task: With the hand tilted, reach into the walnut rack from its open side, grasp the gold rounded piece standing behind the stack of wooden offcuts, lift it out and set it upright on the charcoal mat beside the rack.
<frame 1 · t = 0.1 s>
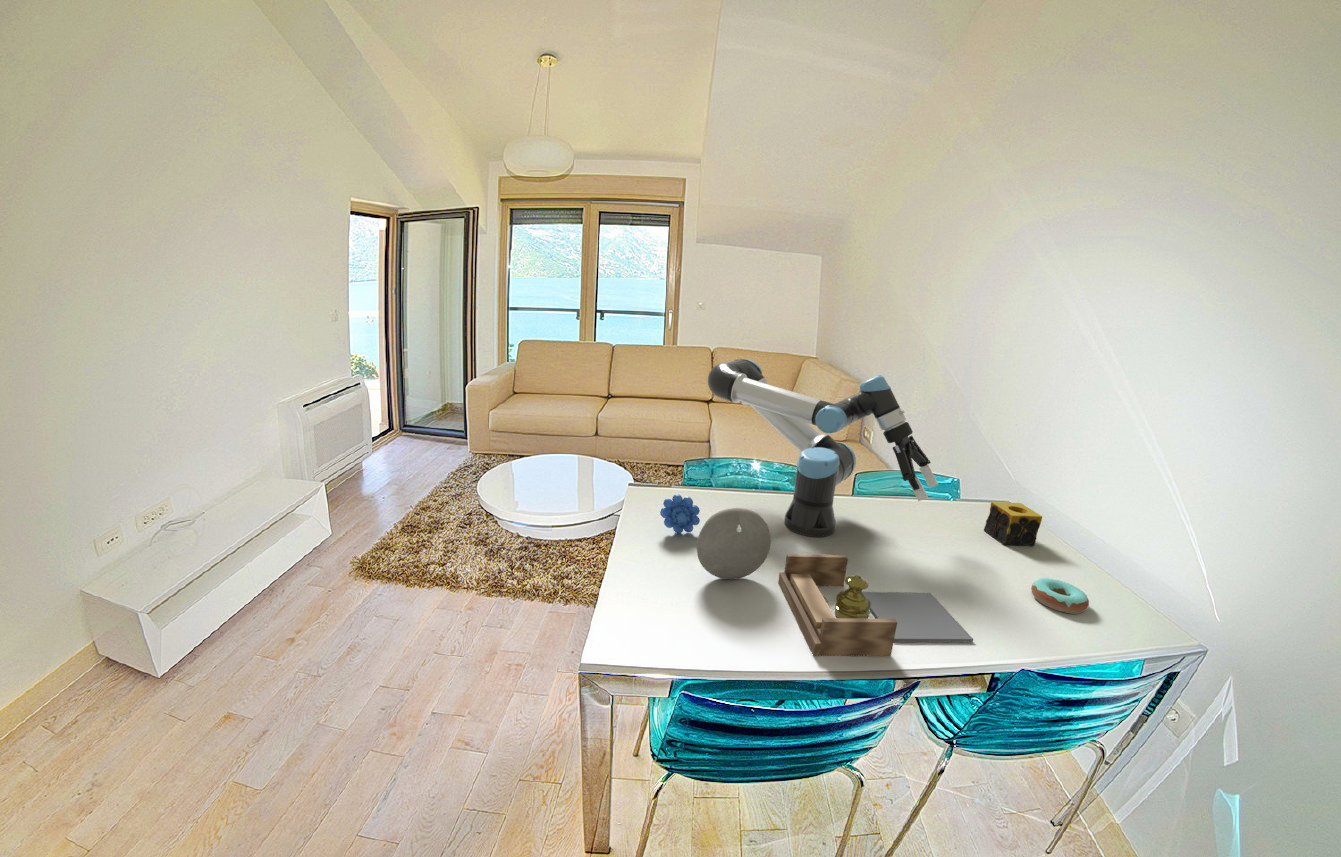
hand: (928, 492, 166), 15 cm above the table, tool tilted 35°, fingers open, 13 cm apart
charcoal mat: (912, 616, 131), on the table
yellow brown cube: (1008, 539, 176), on the table
blue flower: (679, 535, 164), on the table
gold rounded piece: (850, 617, 130), on the table
donut: (1057, 603, 142), on the table
planter: (730, 579, 143), on the table
offcut rack: (850, 616, 130), on the table
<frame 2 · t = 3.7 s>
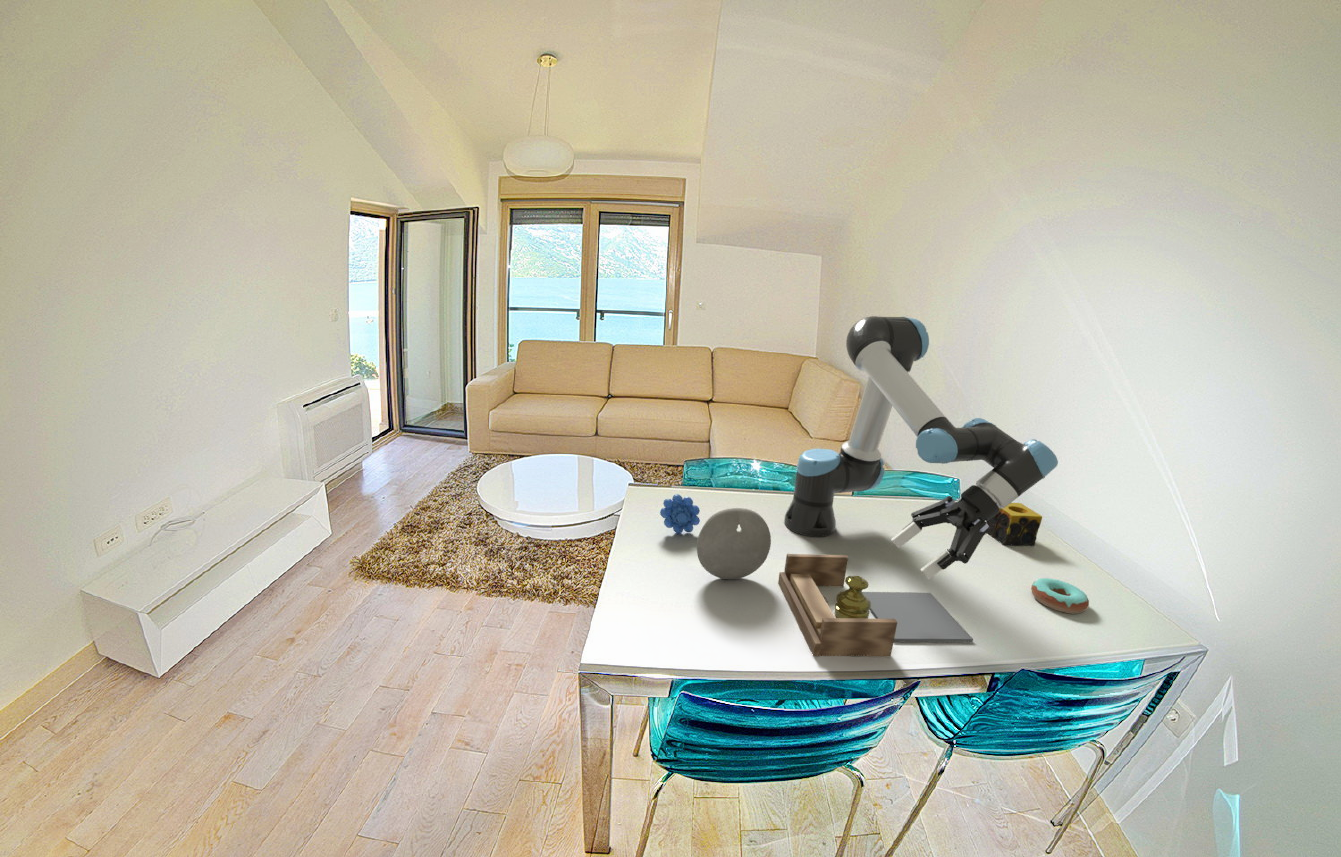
hand: (908, 558, 127), 15 cm above the table, tool tilted 45°, fingers open, 13 cm apart
nothing on the table moved.
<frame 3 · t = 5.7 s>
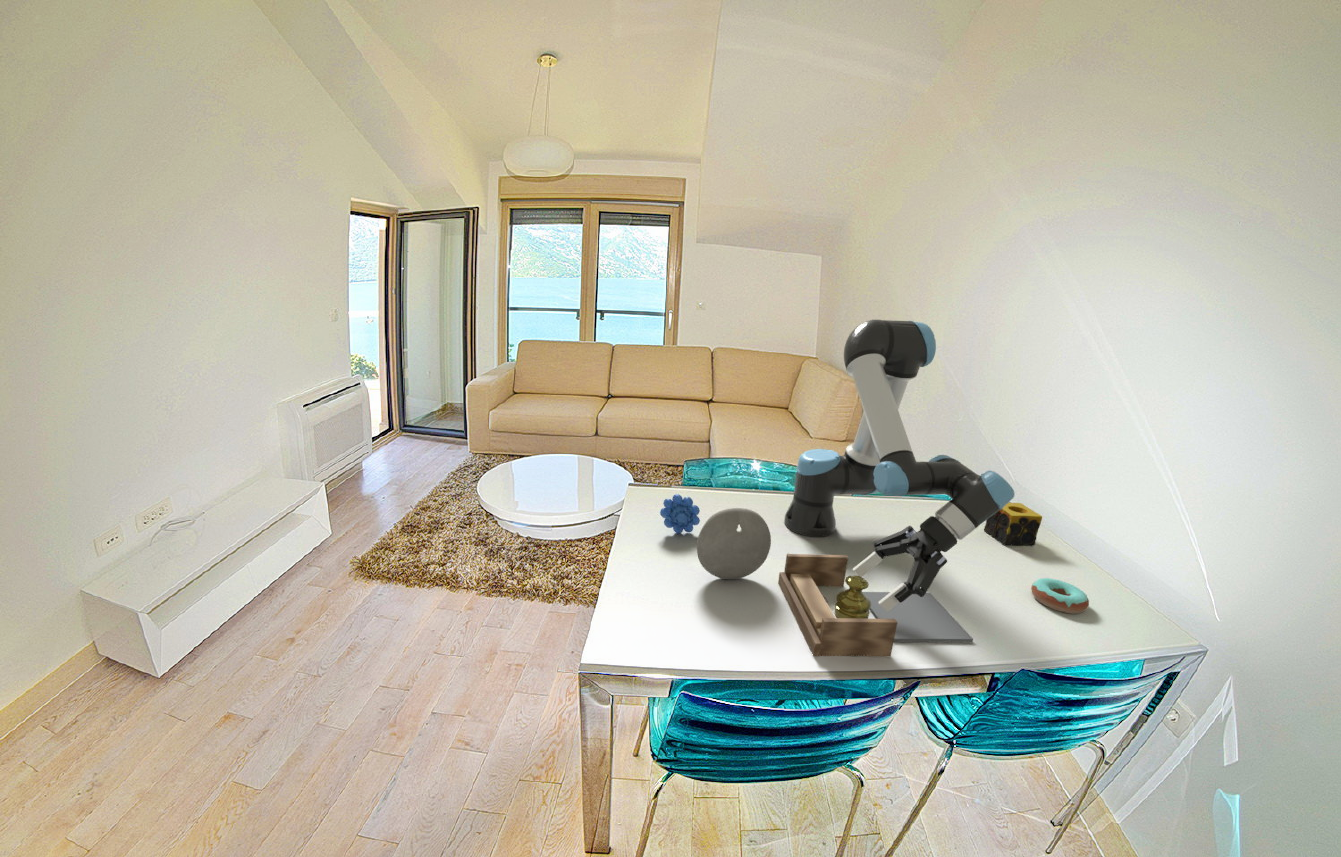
hand: (868, 589, 127), 8 cm above the table, tool tilted 45°, fingers open, 13 cm apart
nothing on the table moved.
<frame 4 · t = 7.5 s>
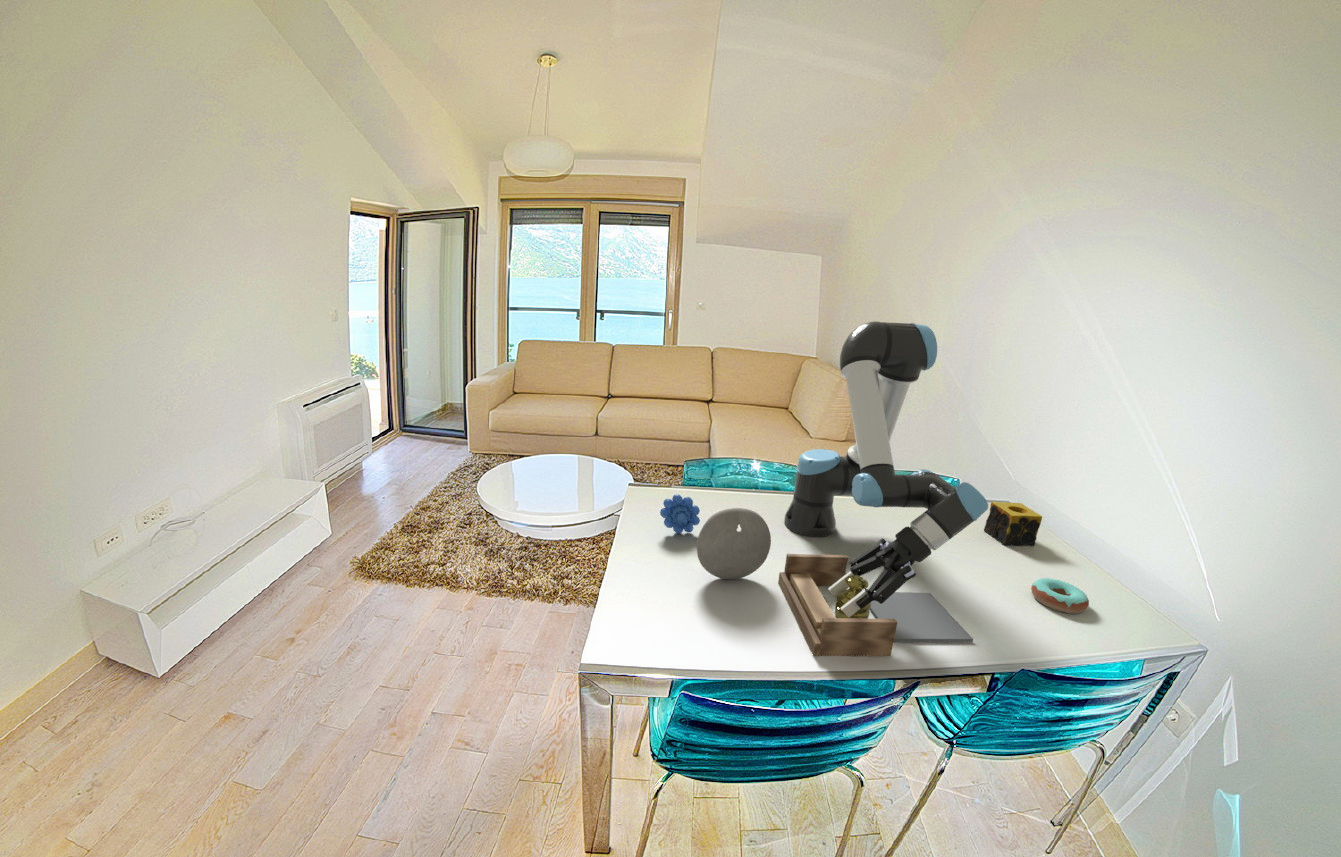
hand: (838, 602, 129), 4 cm above the table, tool tilted 45°, fingers closed on gold rounded piece, 7 cm apart
gold rounded piece: (850, 617, 130), on the table, touching gripper
everything else where it was.
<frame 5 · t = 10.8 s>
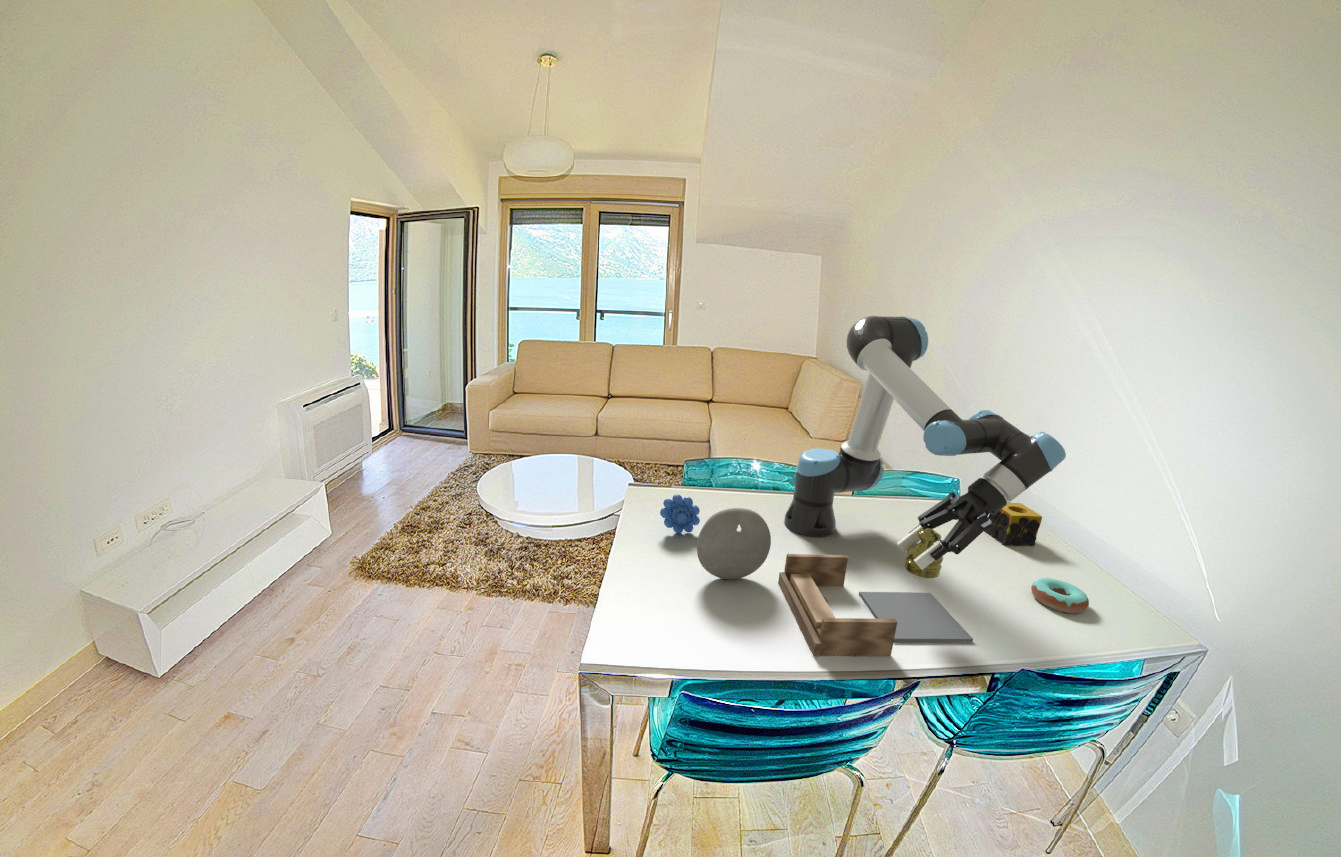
hand: (909, 556, 127), 15 cm above the table, tool tilted 45°, fingers closed on gold rounded piece, 7 cm apart
gold rounded piece: (921, 571, 128), point 12 cm above the table, touching gripper
everything else where it was.
when the fingers open (5 cm above the table, at t = 14.0 s): gold rounded piece stays where it is, resting on charcoal mat.
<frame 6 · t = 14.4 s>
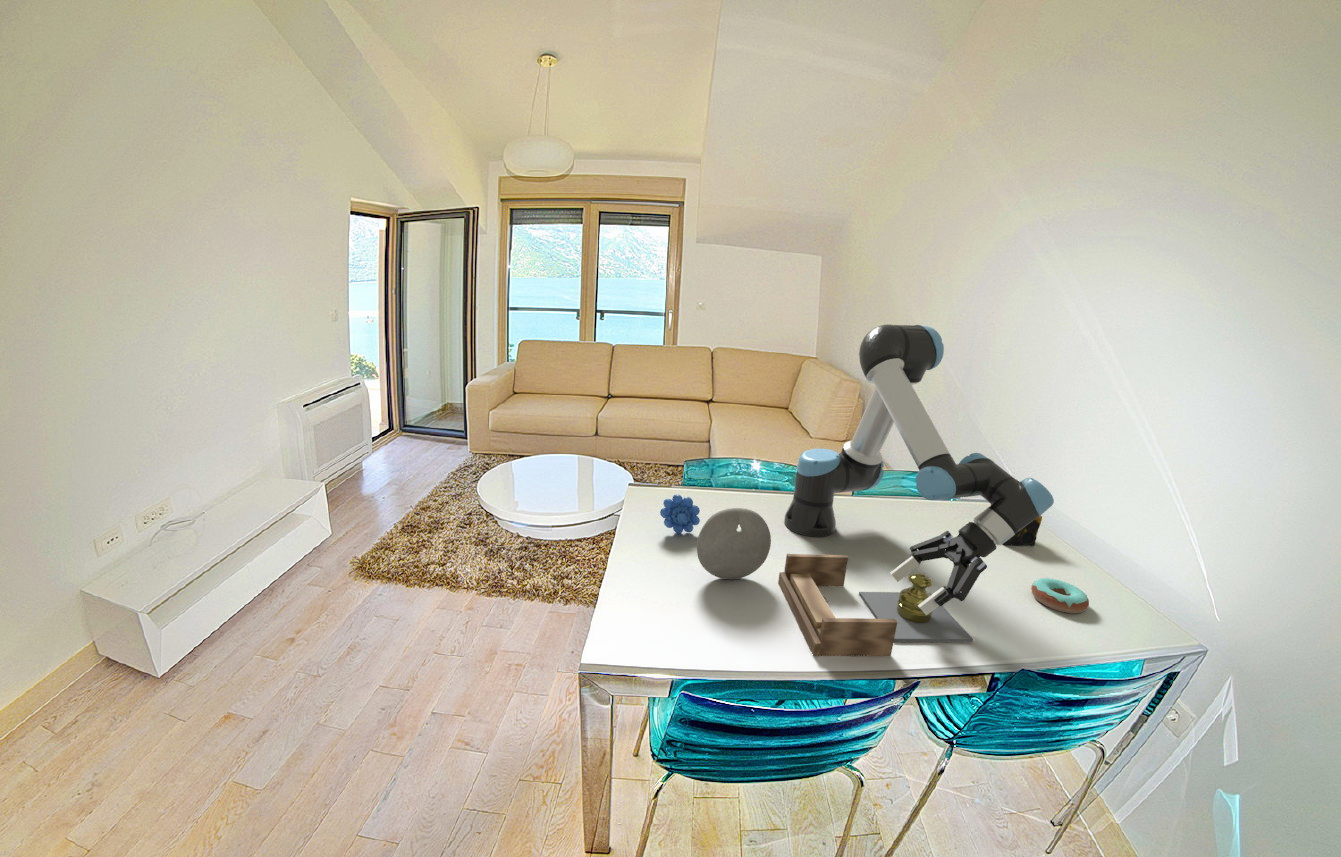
hand: (907, 593, 129), 6 cm above the table, tool tilted 45°, fingers open, 13 cm apart
gold rounded piece: (913, 614, 131), point 1 cm above the table, touching charcoal mat
everything else where it was.
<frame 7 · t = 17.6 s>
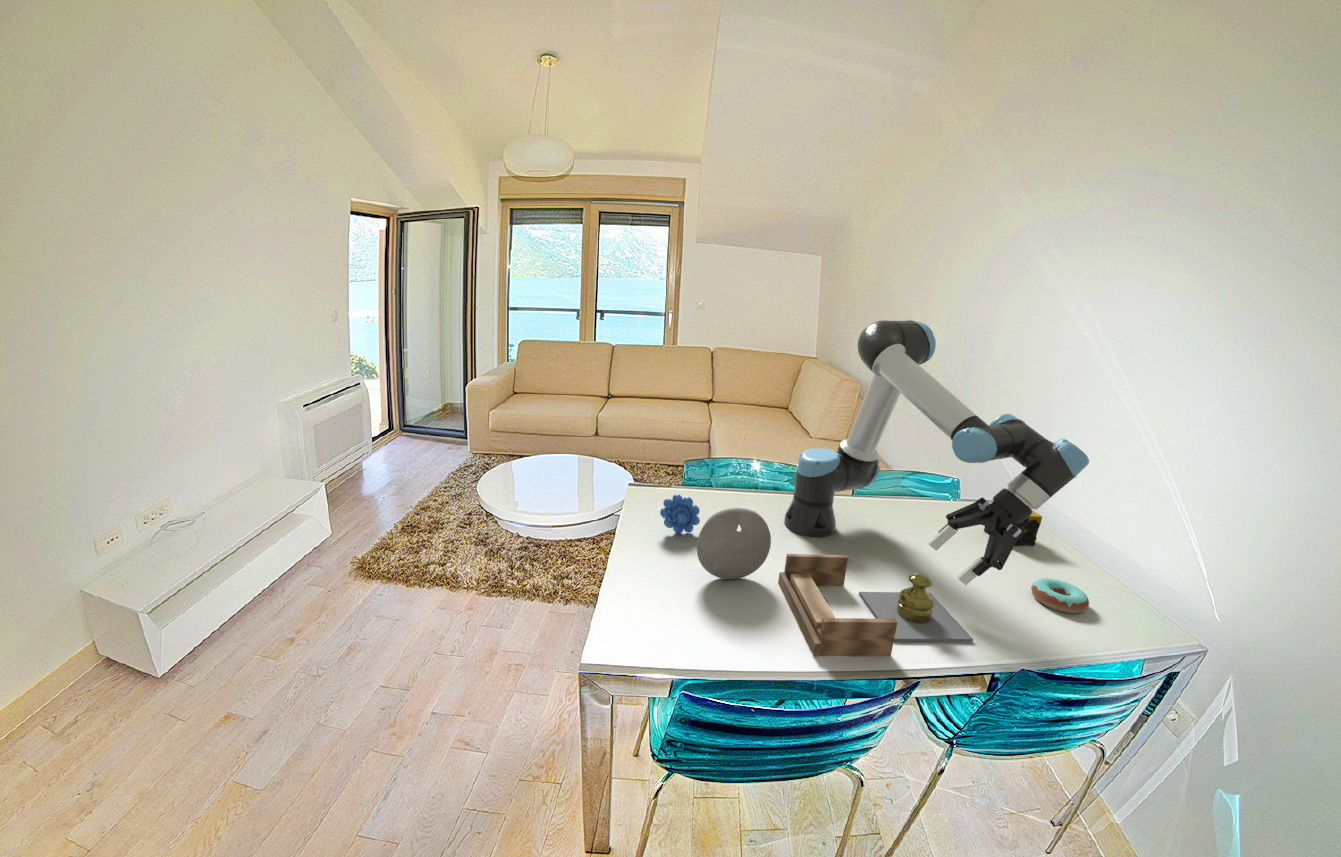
hand: (945, 563, 131), 12 cm above the table, tool tilted 35°, fingers open, 13 cm apart
nothing on the table moved.
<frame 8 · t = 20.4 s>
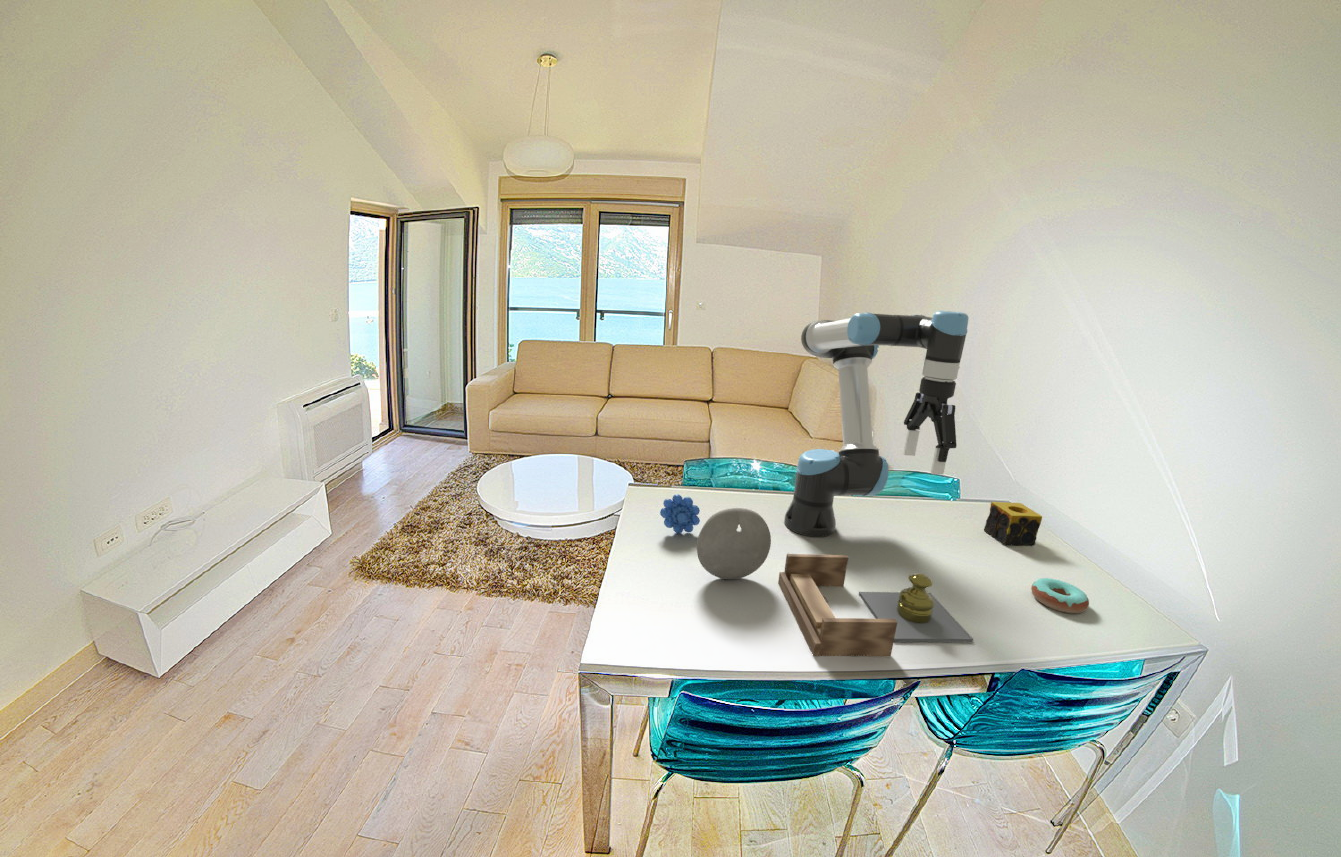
hand: (922, 464, 141), 31 cm above the table, tool pointing down, fingers open, 13 cm apart
nothing on the table moved.
at the end: gold rounded piece inside the target area on the charcoal mat (0.1 cm from its centre), point 0.6 cm above the charcoal mat's base; gold rounded piece tilted 0°; the gripper is holding nothing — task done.
